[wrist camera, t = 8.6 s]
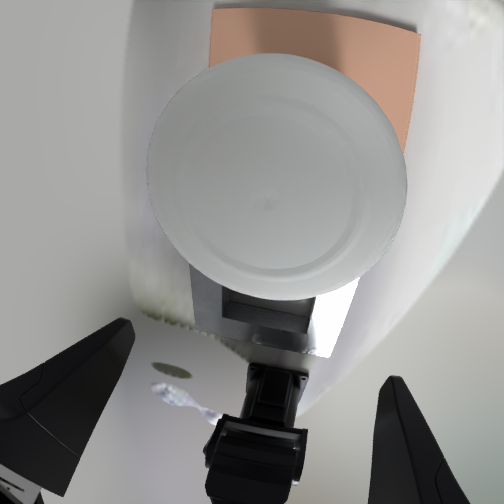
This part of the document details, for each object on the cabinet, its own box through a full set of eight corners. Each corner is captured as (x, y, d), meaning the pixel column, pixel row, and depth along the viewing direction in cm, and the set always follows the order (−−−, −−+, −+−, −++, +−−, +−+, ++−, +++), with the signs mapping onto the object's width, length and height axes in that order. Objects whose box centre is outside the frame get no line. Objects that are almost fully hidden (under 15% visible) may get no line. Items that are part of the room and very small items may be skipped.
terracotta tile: (385, 214, 18) (387, 218, 18) (210, 184, 20) (207, 187, 20) (418, 35, 12) (420, 34, 11) (215, 10, 13) (212, 9, 13)
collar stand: (330, 340, 26) (328, 357, 24) (203, 314, 28) (195, 329, 26) (368, 224, 19) (371, 239, 17) (197, 196, 21) (185, 208, 19)
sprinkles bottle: (259, 127, 17) (124, 250, 6) (288, 59, 14) (174, 16, 3) (330, 159, 17) (325, 340, 6) (363, 93, 14) (466, 145, 3)
